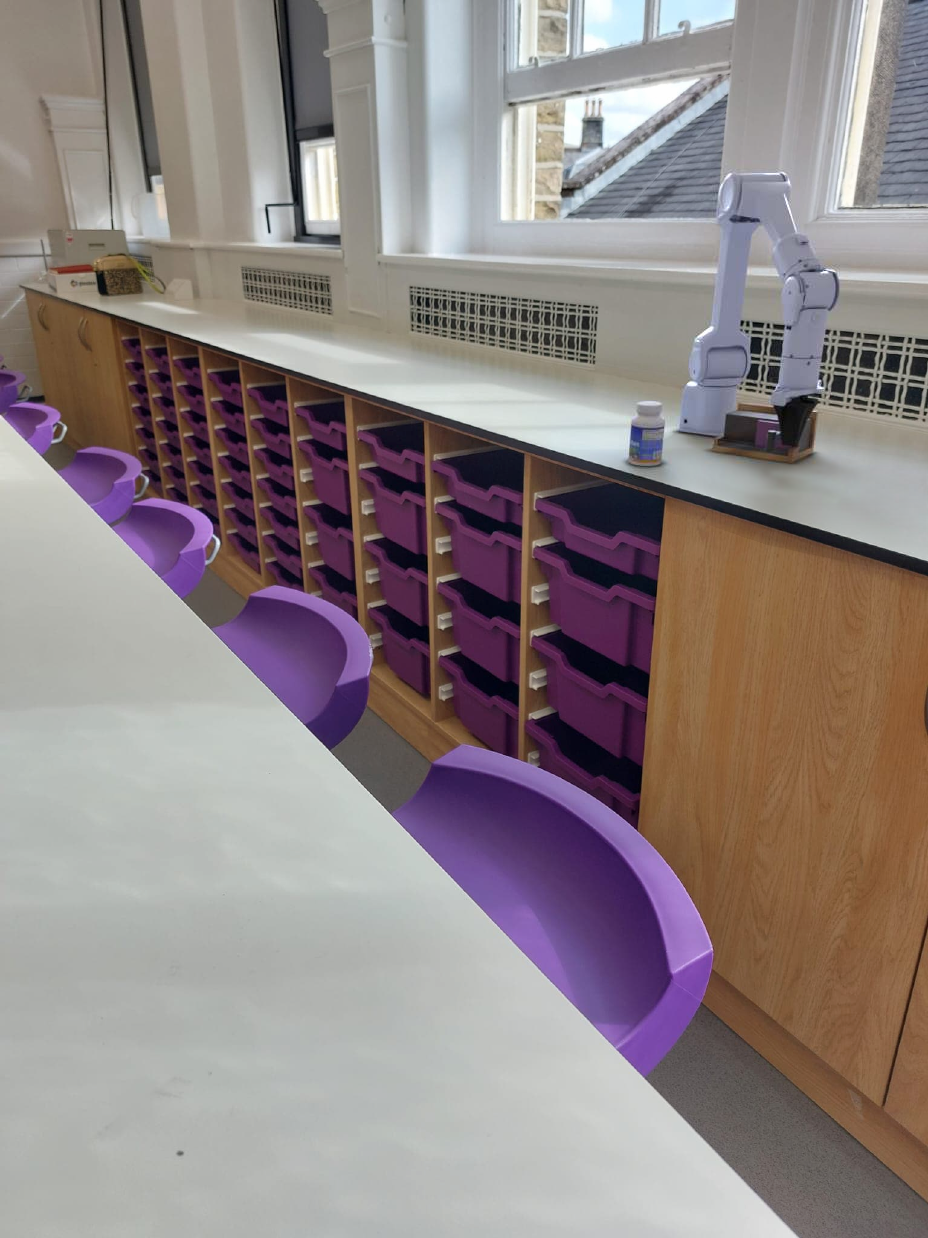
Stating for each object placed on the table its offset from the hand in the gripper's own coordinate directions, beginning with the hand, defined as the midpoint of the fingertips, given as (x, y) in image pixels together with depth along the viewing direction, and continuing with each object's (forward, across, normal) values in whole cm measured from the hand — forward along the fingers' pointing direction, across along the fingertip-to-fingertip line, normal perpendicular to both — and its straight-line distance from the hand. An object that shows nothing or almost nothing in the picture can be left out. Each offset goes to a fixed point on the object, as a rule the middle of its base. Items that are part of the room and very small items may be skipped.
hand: (789, 444), depth 139 cm
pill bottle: (+4, -10, +20) cm, 23 cm away
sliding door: (+3, +2, +5) cm, 6 cm away
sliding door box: (+4, +8, +8) cm, 12 cm away
